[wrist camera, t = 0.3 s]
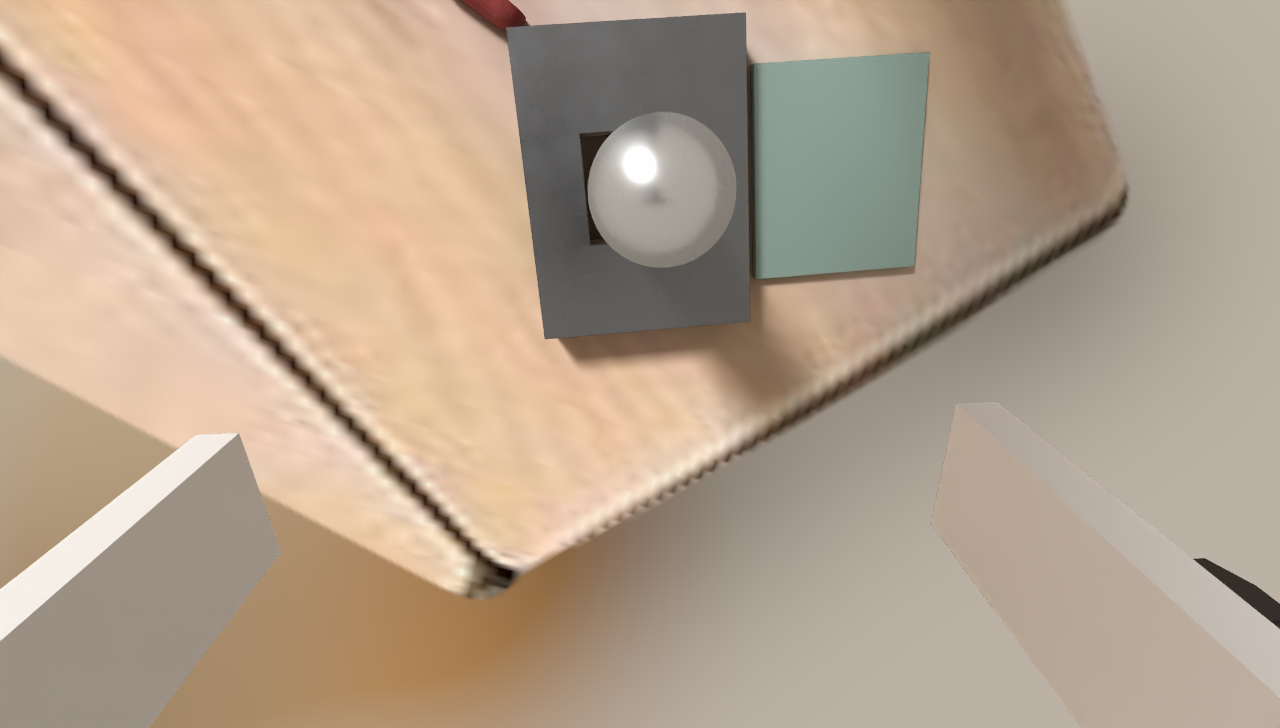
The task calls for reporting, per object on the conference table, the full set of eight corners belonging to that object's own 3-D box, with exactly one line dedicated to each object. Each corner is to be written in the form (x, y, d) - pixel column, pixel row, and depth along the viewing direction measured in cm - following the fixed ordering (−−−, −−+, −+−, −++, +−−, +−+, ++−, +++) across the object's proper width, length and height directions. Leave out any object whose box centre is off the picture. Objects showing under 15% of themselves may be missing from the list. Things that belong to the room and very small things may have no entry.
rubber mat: (751, 65, 33) (753, 63, 33) (923, 54, 34) (929, 52, 33) (753, 277, 37) (756, 279, 36) (909, 264, 37) (914, 266, 37)
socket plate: (513, 40, 32) (506, 27, 29) (732, 26, 33) (745, 12, 30) (548, 326, 37) (544, 339, 34) (738, 310, 38) (750, 321, 35)
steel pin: (586, 142, 34) (580, 117, 20) (676, 135, 34) (735, 106, 20) (594, 234, 36) (595, 273, 21) (680, 227, 36) (738, 261, 22)
